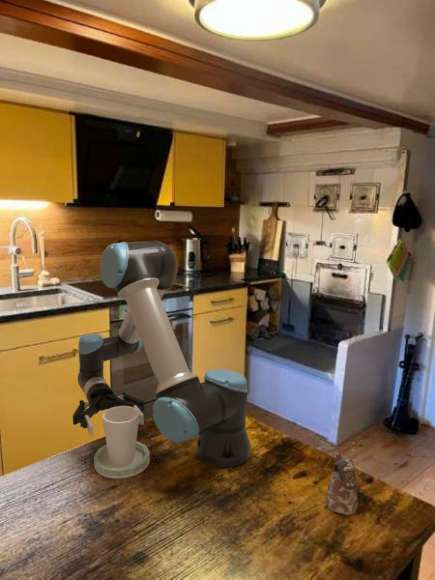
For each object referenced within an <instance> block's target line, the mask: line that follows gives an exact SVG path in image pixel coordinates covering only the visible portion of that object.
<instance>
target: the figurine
mask: <svg viewBox="0 0 435 580" xmlns="http://www.w3.org/2000/svg"><path fill="white" fill-rule="evenodd" d="M335 457H336V461H335V462H334V463H333V465H332V472H333V473H332V476H331V477H330V479H329V482H328V486H327V488H326V493H325V504H326V506H327V507H328V509H330V511H332V512H334V513H338V514H342V515H345V516H349V515H352V514H355V513H356V511H357V508H358V505H359V504H358V503H359V500H358V482H359V479H358V478H357V475H356V470H355V467H356V466H355V462H354V461H353V460H352V459H351V458H350V457H343V456H342V455H341V453H340V452H339V453H335Z"/></svg>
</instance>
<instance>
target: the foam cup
mask: <svg viewBox="0 0 435 580" xmlns="http://www.w3.org/2000/svg"><path fill="white" fill-rule="evenodd" d="M139 425H140V423H139V411H138V410H137V409H136V408H134V407H130V406H117V407H112V408H110V409H106V410H104V412H103V413H102V427H103V429H104V430H103V431H104V437H105V441H106V442H105V443H106V444H107V449H108V455H109V460H110V463H111V464H112V465H114V466H126V465H129V464H130V463H132V461H133V460H134V454H135V447H136V441H137V439H138V437H137V436H138V432H139ZM106 444H105V445H106Z"/></svg>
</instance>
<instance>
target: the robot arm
mask: <svg viewBox="0 0 435 580" xmlns="http://www.w3.org/2000/svg"><path fill="white" fill-rule="evenodd" d="M178 267H179V264H178V258H177V255H176V253H175V252H174V251H173V249H172V248H171V247H170V246H169V245H168V244H166V243H165V242H162V241H159V240H149V241H147V240H146V241H130V242H126V241H122V242H117V243H111V244H109V245H107V247H106V248H105V249H104V250H103V252H102V255H101V258H100V263H99V271H100V276H101V277H100V278H101V281H102V282H103V285H105V286H106V287H107V288H109V289H115V291H116V294H117V296H118V298H119V299H122V300H124V301H126V303H127V306H128V311H127V312H126V315H125V317H124V320H123V321H122V324H121V325H120V327H119V329H118V332H117V334H116V335H112V336H108V337H103V336H102V335H101V334H99V333H86V334H83V335H82V336H80V337H79V340H78V361H79V364H78V365H79V372H78V374H77V383H78V384H77V385H78V386H79V387H80V389H81V390H82V392H83V395H84V396H85V398H86V400H87V401H84V400H82V399H81V400H79V403H78V404H79V405H78V406H77V408H76V410H75V411H74V413H73V414H72V425H74V426H76V425H78V424H80V428H83V429H87V432H88V433H89V437H93V436H94V425H93V422H92V420H91V418H92V417H94V416H95V415H97V414H99V412H100V411H101V412H103V411H106V410H108V409H110V408H112V407H117V406H130V407H134V408H136V409H137V410H138V411H139V425H141V426H142V425H144V424H145V421H144V418H145V417H144V416H145V415H144V411H145V407H146V404H145V403H146V402H145V401H143V400H141V399H139V398H136V397H133V396H131V395H129V394H127V393H126V392H122V393H121V395H119V396H118V395H115V393H114V391H113V390H112V388H111V387H110V385H109V383H107V381H106V379H105V376H104V362H107V361H112V360H115V359H118V358H122V357H126V356H132V355H134V354H136V353H139V352H140V351H142V349H144V351H145V354H146V357H147V359H148V362H149V365H150V368H151V369H152V372H153V375H154V378H155V380H156V384H157V387H156V390H155V392H154V395H155V398H156V400H155V402H154V403H153V405H152V411H153V412H152V418H153V420H154V424H155V425H156V427H157V429H158V431H159V433H161V434H162V435H163V436H164V438H166V439H168V440H169V441H171V442H173V443H177V444H179V443H180V444H181V443H184V442H186V441H189V440H193V439H196V438H197V442H196V455H197V457H198V458H199V459H200V460H201V461H202V462H204V463H205V464H208V465H210V466H214V467H217V468H219V467H220V468H231V467H237V466H240V465H242V464H244V463H245V462H247V461H248V459H250V457H251V454H252V453H251V452H252V451H251V449H252V445H251V442H250V439H249V434H248V431H247V427H246V423H247V422H246V421H247V407H248V406H247V403H248V392H249V390H248V381H247V378H246V377H245V375H243V374H241V373H240V372H237V371H234V370H229V369H222V368H220V369H219V368H216V369H214V368H213V369H210V370H209V369H208V370H207V371H206V372H205V373H204V376H203V380H204V381H203V382H201V381H200V378H199V376H198V375H197V374H195V373H192V372H191V371H190V369H189V367H188V365H187V362H186V359H185V356H184V355H183V352H182V348H181V347H180V344H179V342H178V340H177V336H176V335H175V332H174V329H173V326H172V324H171V321H170V319H169V316H168V314H167V312H166V310H165V306H164V304H163V302H162V298H163V296H164V294H165V292H166V291H168V290H170V289H171V288H172V286H173V284H174V283H175V280H176V278H177V275H178V269H179V268H178ZM197 436H198V437H197Z"/></svg>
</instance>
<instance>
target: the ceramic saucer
mask: <svg viewBox="0 0 435 580" xmlns="http://www.w3.org/2000/svg"><path fill="white" fill-rule="evenodd" d="M150 454H151V452H150V451H149V449H148V447H147V445H146V444H145V443H141V442H139V441H137V440H136V447H135V454H134V460H133V461H132V463H130V464H129V465H126V466H114V465H112V464H111V463H110V460H109V455H108V449H107V444H105V445H102V446H101V447H99V448H98V449H97V451H96V452H95V454H94V455H93V466H94V467H93V468H94V470H95V471H96V473H97V474H98V475H100V476H102V477H105V478H107V479H115V480H116V479H117V480H119V479H127V478H132V477H134V476H137V475H138V474H141V473H142V472H144V471H145V470H147V468H148V466H149V464H150V460H151V457H150Z"/></svg>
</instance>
